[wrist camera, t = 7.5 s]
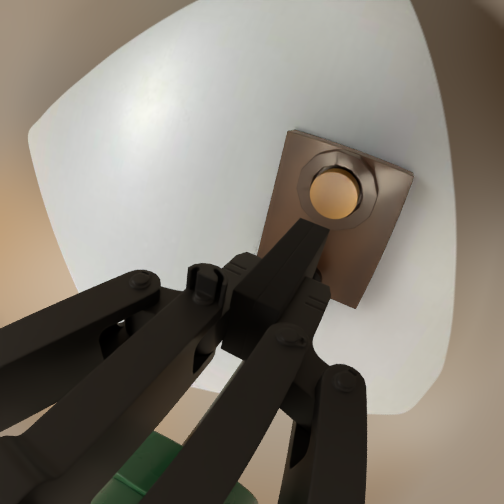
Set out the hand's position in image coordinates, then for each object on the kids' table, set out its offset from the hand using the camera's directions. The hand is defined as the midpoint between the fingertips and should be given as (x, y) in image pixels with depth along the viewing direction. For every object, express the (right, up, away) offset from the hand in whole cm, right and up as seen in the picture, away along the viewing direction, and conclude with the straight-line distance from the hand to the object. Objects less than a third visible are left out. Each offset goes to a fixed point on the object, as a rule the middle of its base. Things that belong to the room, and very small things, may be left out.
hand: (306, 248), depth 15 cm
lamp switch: (+5, +5, +11) cm, 13 cm away
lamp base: (+5, +3, +16) cm, 17 cm away
